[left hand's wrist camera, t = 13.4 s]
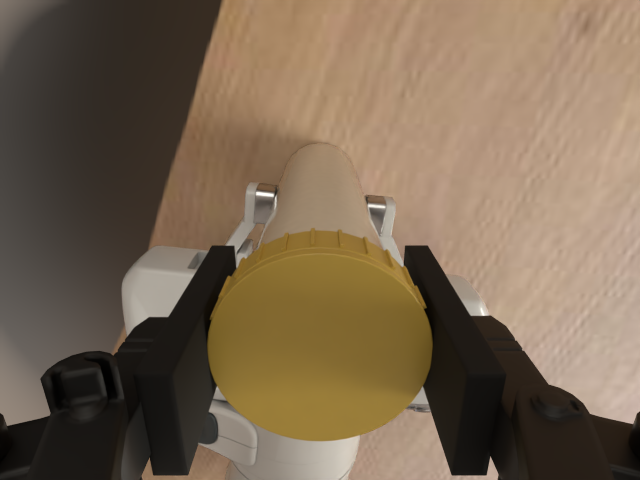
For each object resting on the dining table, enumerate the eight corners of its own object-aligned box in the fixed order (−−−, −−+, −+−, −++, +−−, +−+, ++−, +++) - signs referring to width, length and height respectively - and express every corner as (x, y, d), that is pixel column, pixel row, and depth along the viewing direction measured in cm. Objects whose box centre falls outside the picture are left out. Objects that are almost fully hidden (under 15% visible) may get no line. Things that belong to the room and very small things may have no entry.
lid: (174, 308, 12) (154, 341, 11) (340, 182, 11) (343, 200, 9) (304, 431, 14) (302, 474, 12) (460, 336, 13) (480, 372, 11)
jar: (268, 173, 28) (188, 333, 11) (326, 127, 27) (337, 225, 10) (314, 227, 30) (305, 443, 13) (370, 185, 29) (447, 359, 11)
